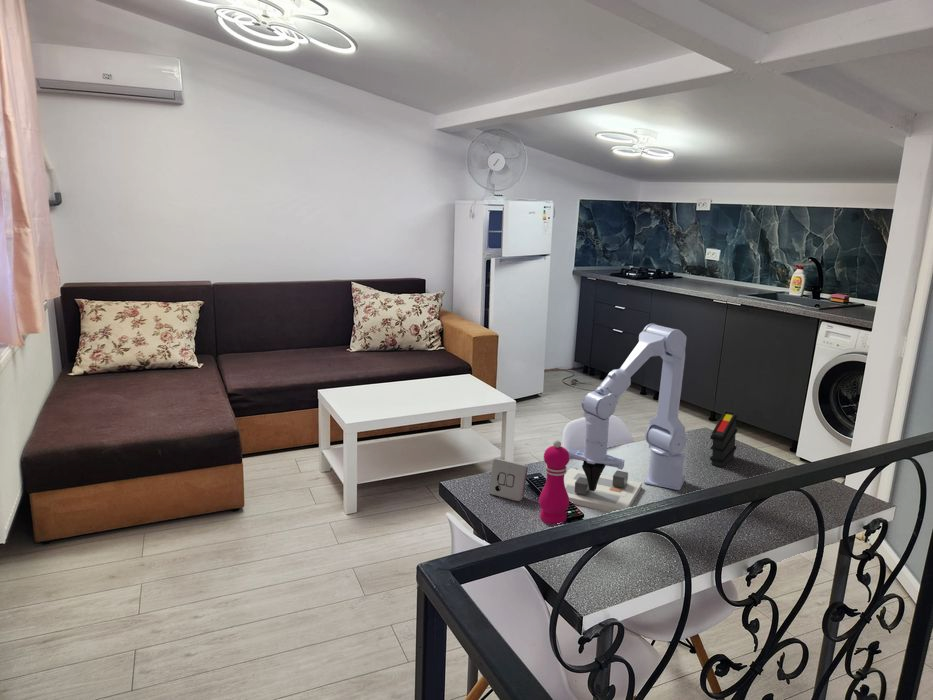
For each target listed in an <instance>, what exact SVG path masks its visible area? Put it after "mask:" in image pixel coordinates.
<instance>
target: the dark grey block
mask: <svg viewBox="0 0 933 700" xmlns="http://www.w3.org/2000/svg"><path fill="white" fill-rule="evenodd" d="M612 477H613V484H612V486H617V487H622V488H624V487H625V485H626V484H627V481H628V480H629V472H627V471H622V470H619V469H617V470H616V471H615V472H614V474H613V475H612Z"/></svg>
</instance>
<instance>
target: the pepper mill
mask: <svg viewBox="0 0 933 700" xmlns="http://www.w3.org/2000/svg"><path fill="white" fill-rule="evenodd" d="M552 444H553V445H551V446H549V447H548V448H546V450H545V451H544V452H543V460H544V463H545V465H544V466H545V468H544V469H545V470H544V472H545V473H546V480H545V484H544V486H543V488H542V490H541V491H540V495H539V498H538V504H539V506H540V508H541V510H540V513H539V514H540V516H539V517H540V520H541V521H542V522H543V523H545V524H548V525H553V524H557V523H560V522H564V521H565V522H566V521H567V517H568V516H567V510H568V509H569V507H570V503H569V497H568V494H567V491H566V488H565V485H564V474H566V472H567V469H568V468H567V465H568V464H569V462H570V459H569V453H568V449H566V448H565V447H564V446H562V443H561V441H560V440H554V442H553V443H552ZM565 522H564V523H565ZM561 524H563V523H560V524H559V525H561ZM557 525H558V524H557Z"/></svg>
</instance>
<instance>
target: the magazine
mask: <svg viewBox="0 0 933 700" xmlns="http://www.w3.org/2000/svg"><path fill="white" fill-rule="evenodd" d="M737 418H738V414H736V412H735V411H730V410H724V411H723V413H722V415H721V416H720V418H719V420H718V421H717V423H716V425H715V427H714V429H713V431H712V432H711V435H710V436H709V437H710V440H712V445H711V447H710V450H712V455H711V457H709V460H710V461H711V465H712V466H716V467H719V468H722V467H724V466H725V465H726V464H727V463H728V462H730V460H732V459H733V458H734V457H735V456H734V455H735V451H736V450H737V445H736V435H737V433H738V429H739V428H737V427H736V423H737V421H736V420H737Z"/></svg>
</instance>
